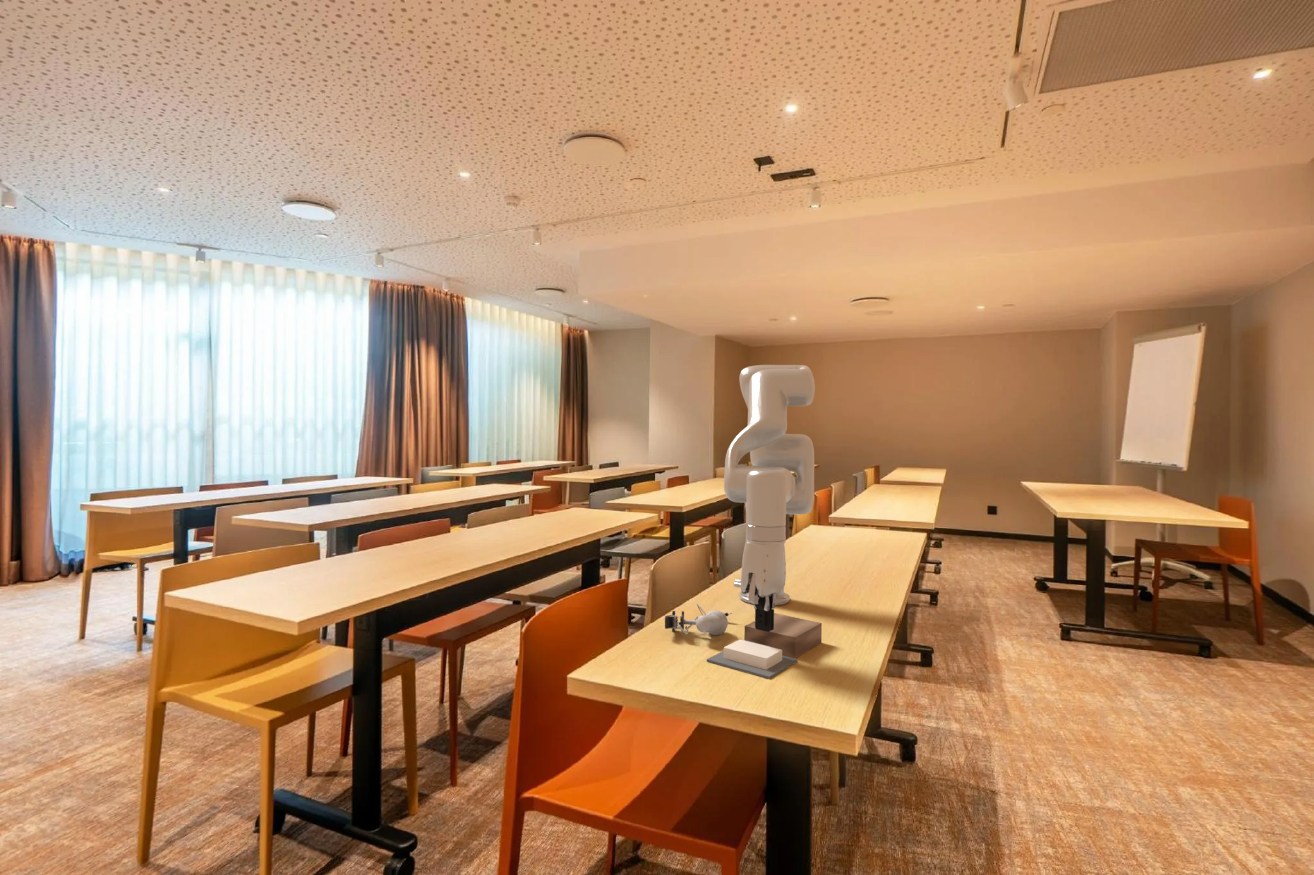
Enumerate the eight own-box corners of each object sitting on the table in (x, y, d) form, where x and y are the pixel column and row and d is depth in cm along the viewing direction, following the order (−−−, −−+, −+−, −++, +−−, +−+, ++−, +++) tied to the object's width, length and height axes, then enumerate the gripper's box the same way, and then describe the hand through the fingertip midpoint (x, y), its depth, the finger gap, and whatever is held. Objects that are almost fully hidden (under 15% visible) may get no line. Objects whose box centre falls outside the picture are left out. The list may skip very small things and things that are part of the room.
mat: (706, 661, 116) (706, 659, 116) (737, 646, 125) (737, 644, 125) (769, 679, 108) (769, 676, 108) (797, 661, 117) (797, 659, 117)
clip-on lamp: (691, 631, 144) (659, 635, 128) (691, 602, 146) (659, 603, 130) (741, 633, 139) (713, 638, 124) (740, 603, 141) (713, 604, 125)
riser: (744, 645, 125) (744, 625, 125) (772, 631, 135) (773, 612, 135) (795, 658, 118) (795, 637, 118) (821, 642, 128) (821, 623, 128)
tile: (740, 639, 122) (740, 649, 122) (723, 647, 117) (723, 658, 117) (782, 649, 116) (782, 660, 116) (766, 658, 112) (766, 669, 112)
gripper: (767, 527, 128) (765, 617, 128) (728, 536, 117) (726, 635, 117) (800, 531, 124) (799, 624, 124) (764, 541, 112) (762, 643, 112)
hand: (764, 629), depth 120 cm, fingers closed
